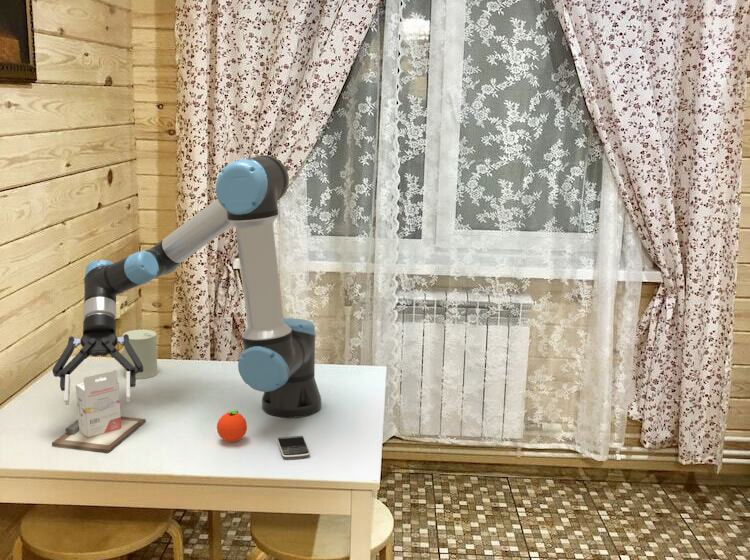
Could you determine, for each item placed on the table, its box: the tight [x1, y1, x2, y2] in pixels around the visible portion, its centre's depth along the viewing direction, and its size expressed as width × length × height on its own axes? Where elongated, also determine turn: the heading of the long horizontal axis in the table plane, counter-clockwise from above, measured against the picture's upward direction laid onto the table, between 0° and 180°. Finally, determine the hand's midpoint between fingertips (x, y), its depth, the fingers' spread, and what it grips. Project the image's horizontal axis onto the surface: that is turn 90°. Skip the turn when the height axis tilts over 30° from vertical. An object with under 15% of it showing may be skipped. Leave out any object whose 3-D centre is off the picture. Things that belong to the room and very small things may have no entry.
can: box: [122, 329, 159, 380], centre depth 242 cm, size 9×9×12 cm
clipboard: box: [51, 415, 147, 454], centre depth 203 cm, size 14×18×2 cm
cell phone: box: [276, 435, 311, 460], centre depth 198 cm, size 6×11×1 cm, turn 14°
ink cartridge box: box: [75, 369, 121, 437], centre depth 201 cm, size 9×5×15 cm, turn 132°
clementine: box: [216, 410, 248, 443], centre depth 201 cm, size 8×7×7 cm
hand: (97, 401), depth 199 cm, fingers open, 13 cm apart
